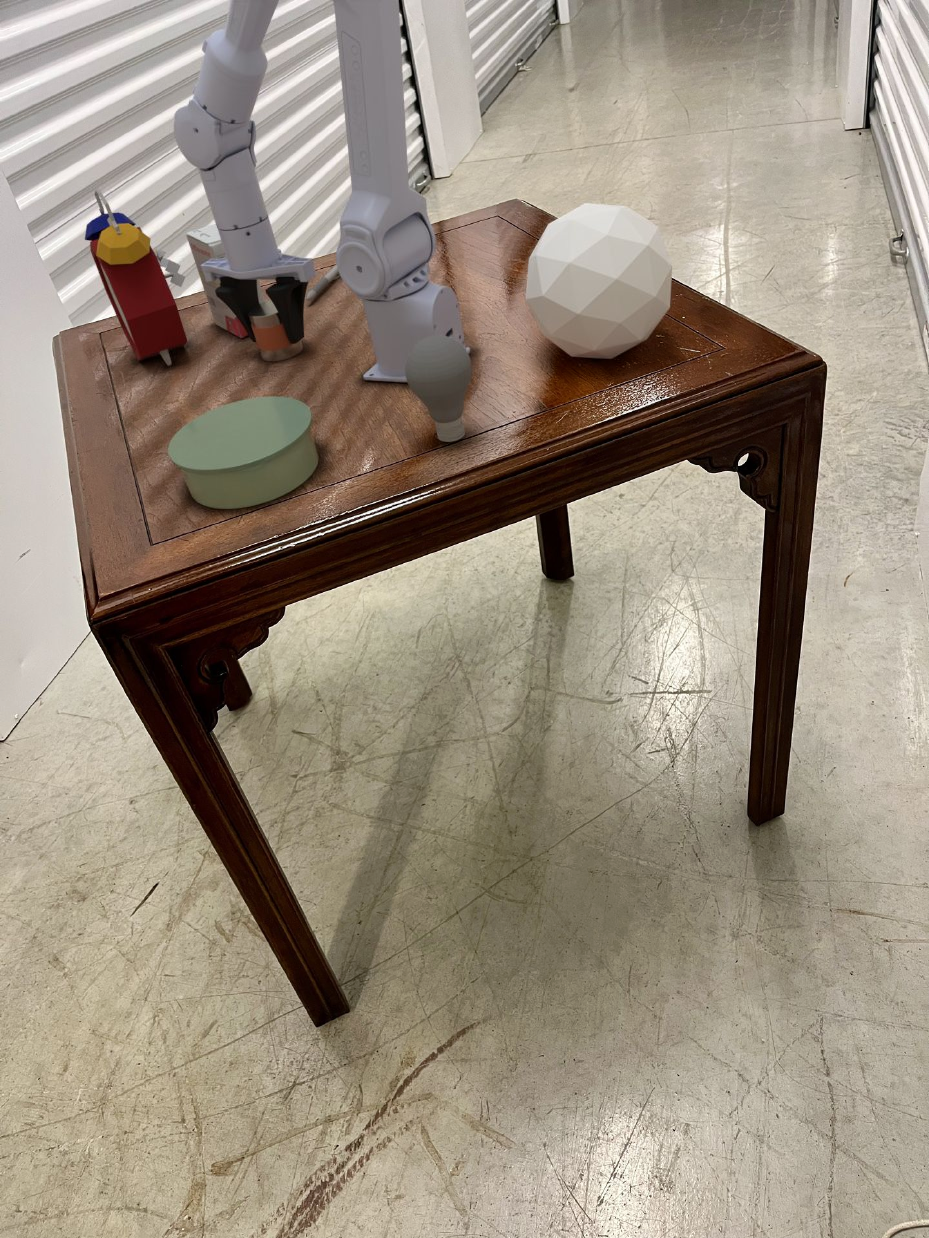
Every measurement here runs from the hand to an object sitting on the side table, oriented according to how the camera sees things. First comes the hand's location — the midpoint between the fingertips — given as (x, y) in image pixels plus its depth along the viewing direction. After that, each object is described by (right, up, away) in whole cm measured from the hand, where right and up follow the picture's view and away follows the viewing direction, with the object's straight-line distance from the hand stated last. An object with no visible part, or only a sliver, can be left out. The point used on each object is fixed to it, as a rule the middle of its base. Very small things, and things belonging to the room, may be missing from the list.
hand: (278, 339), depth 112 cm
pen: (+4, +12, +17) cm, 21 cm away
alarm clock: (-15, +1, +8) cm, 17 cm away
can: (0, -1, +1) cm, 2 cm away
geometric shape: (+37, -5, -13) cm, 39 cm away
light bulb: (+21, -16, -23) cm, 35 cm away
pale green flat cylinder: (+2, -19, -21) cm, 29 cm away
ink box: (-6, +5, +11) cm, 13 cm away
